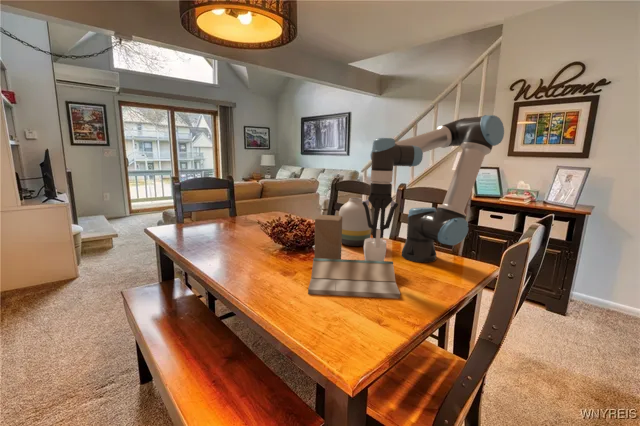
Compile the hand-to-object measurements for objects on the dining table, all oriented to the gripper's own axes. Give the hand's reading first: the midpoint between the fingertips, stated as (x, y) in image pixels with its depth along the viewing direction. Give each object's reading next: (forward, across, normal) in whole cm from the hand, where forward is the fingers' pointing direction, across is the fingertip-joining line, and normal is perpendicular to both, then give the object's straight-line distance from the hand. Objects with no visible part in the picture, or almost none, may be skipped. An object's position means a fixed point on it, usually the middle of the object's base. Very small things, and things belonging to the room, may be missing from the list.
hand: (377, 246), depth 113 cm
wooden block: (+13, +18, -15) cm, 27 cm away
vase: (+13, +6, -46) cm, 48 cm away
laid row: (+13, +8, +11) cm, 19 cm away
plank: (+10, +9, +1) cm, 13 cm away
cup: (+13, 0, -10) cm, 16 cm away
